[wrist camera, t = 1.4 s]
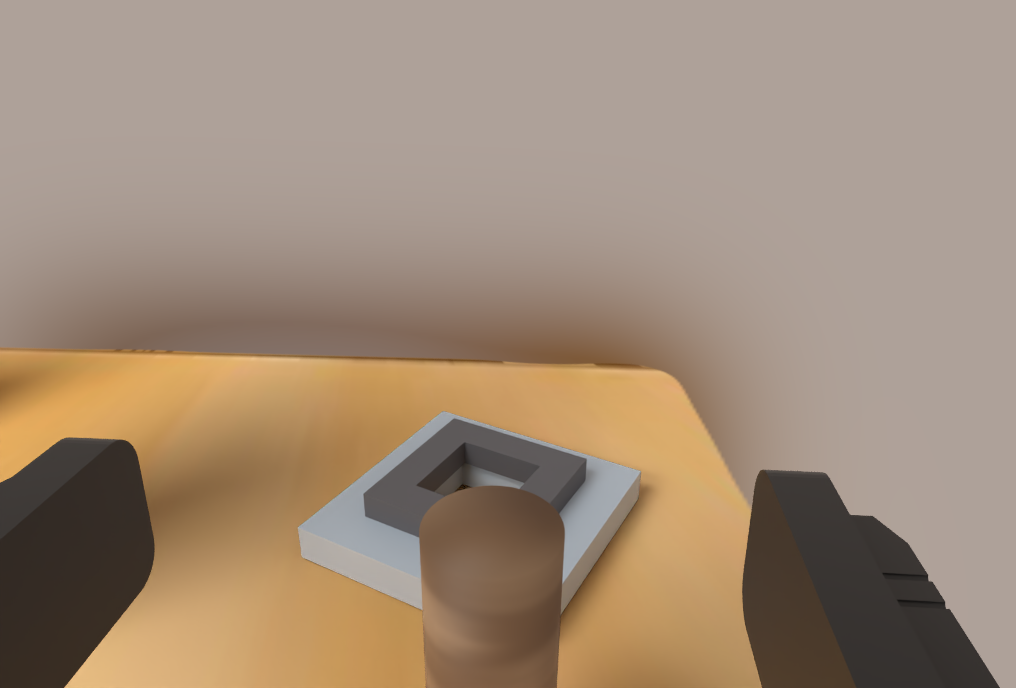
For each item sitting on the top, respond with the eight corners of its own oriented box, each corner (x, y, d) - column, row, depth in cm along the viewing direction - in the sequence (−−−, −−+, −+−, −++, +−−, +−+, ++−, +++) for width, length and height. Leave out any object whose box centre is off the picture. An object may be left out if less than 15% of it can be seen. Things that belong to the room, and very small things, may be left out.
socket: (301, 557, 43) (295, 504, 41) (443, 436, 54) (442, 391, 52) (531, 658, 37) (533, 600, 35) (638, 498, 48) (643, 449, 46)
